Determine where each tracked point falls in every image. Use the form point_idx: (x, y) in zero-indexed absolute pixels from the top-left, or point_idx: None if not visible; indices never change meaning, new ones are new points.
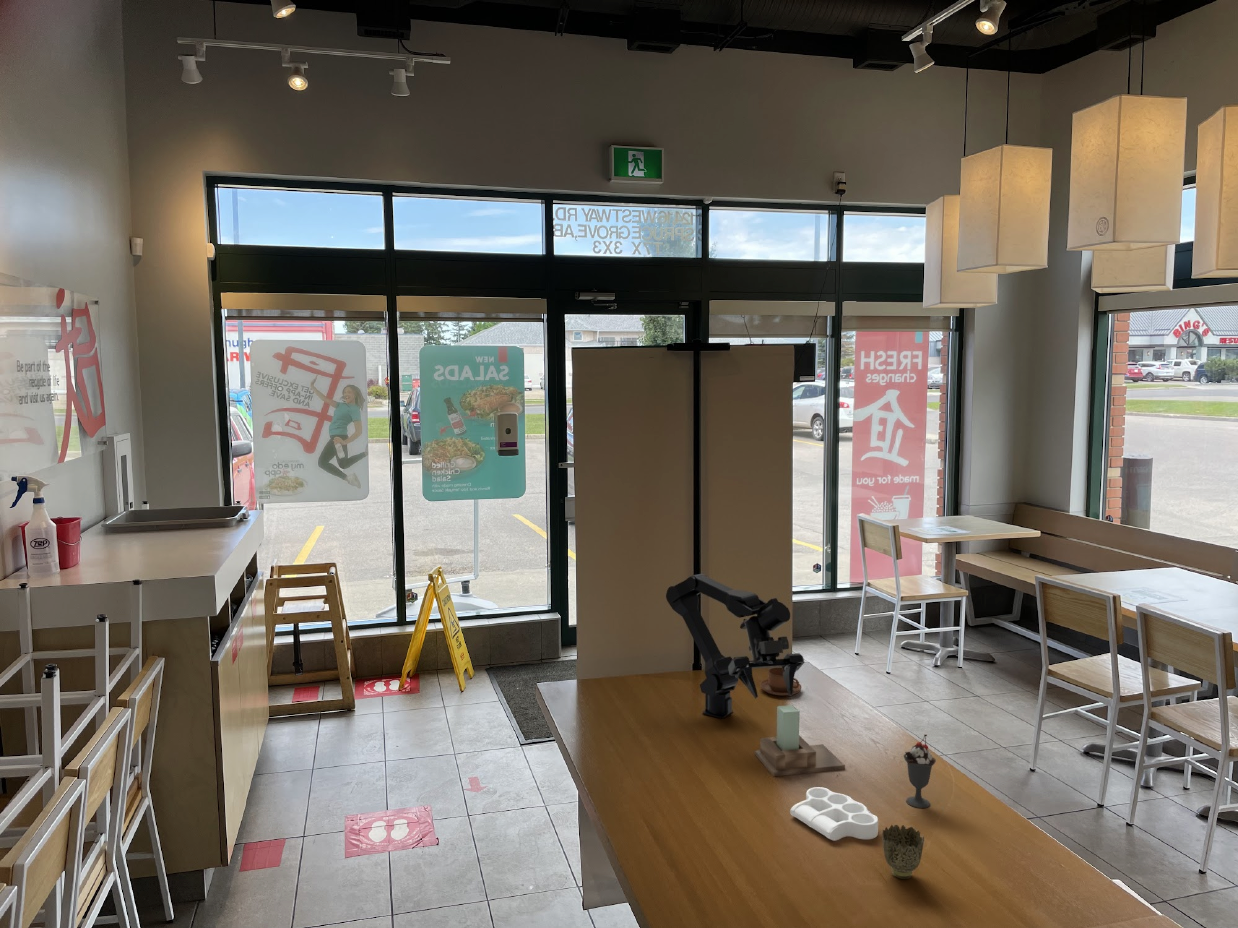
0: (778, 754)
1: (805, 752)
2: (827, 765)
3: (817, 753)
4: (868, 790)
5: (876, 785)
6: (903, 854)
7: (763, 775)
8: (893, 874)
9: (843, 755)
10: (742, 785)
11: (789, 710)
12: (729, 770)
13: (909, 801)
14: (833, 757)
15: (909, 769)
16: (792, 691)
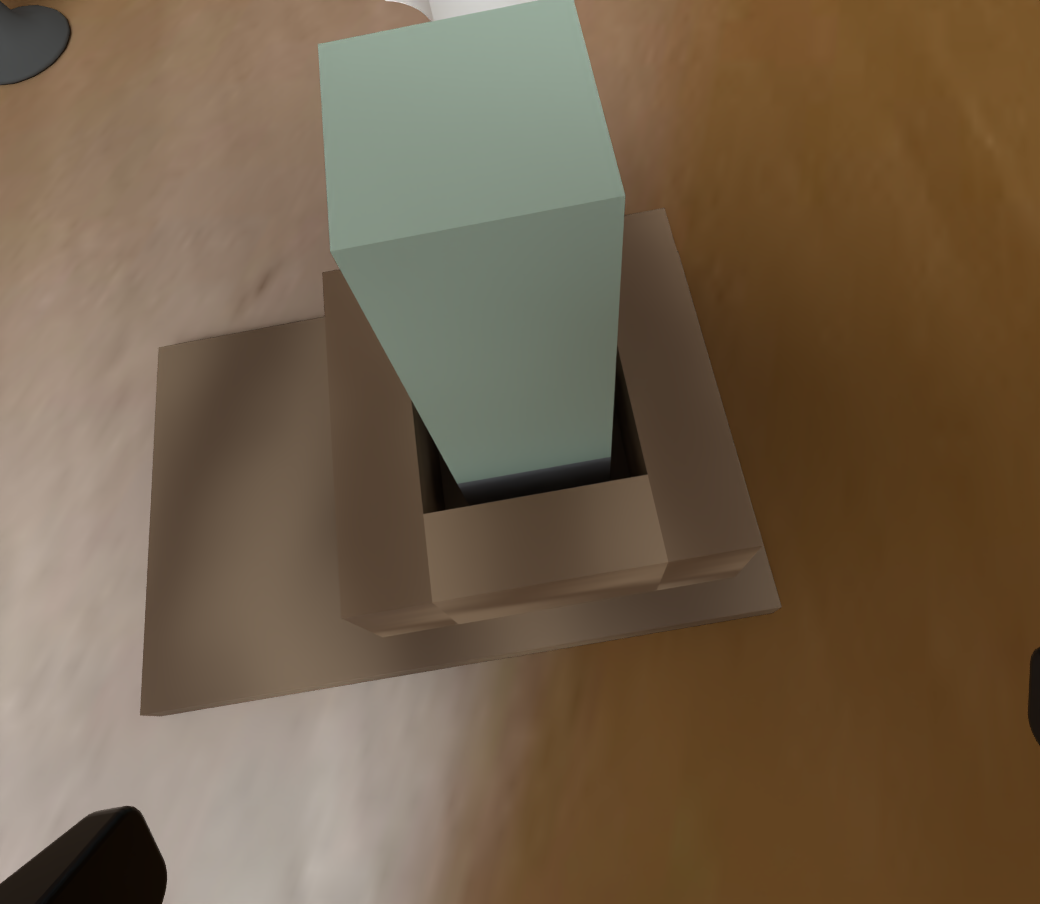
0: (642, 227)
1: None
2: (277, 343)
3: (265, 531)
4: (179, 135)
5: (107, 182)
6: None
7: (742, 279)
8: None
9: (74, 567)
10: (895, 161)
11: (462, 61)
12: (993, 345)
13: (53, 34)
14: (178, 461)
15: None
16: (37, 858)
